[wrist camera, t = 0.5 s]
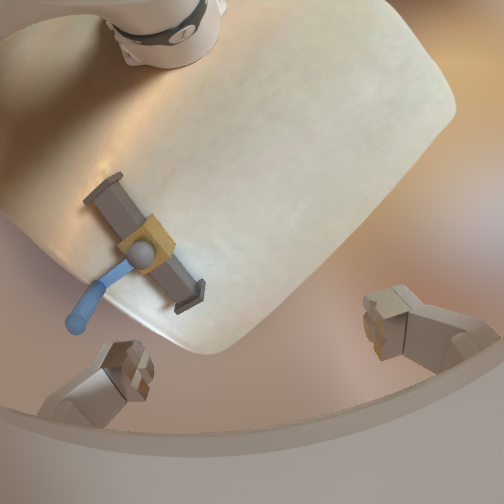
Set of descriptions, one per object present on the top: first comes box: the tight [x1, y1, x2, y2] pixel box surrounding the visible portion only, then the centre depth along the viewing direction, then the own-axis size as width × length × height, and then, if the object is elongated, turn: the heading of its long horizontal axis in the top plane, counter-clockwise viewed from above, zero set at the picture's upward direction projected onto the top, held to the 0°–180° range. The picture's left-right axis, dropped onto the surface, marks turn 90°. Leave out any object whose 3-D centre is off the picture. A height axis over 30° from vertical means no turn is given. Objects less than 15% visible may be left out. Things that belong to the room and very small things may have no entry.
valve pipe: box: [83, 171, 206, 315], centre depth 45 cm, size 26×6×6 cm, turn 31°
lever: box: [65, 240, 155, 335], centre depth 37 cm, size 15×4×13 cm, turn 121°
